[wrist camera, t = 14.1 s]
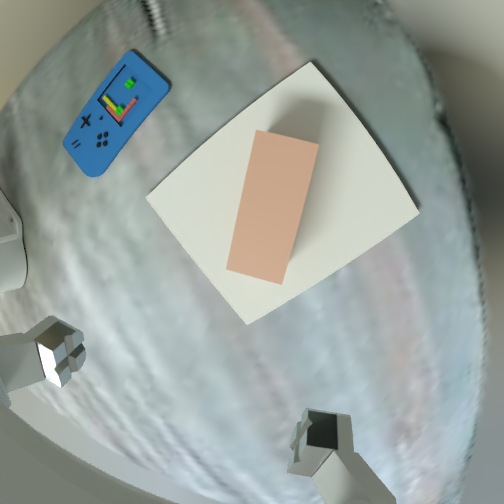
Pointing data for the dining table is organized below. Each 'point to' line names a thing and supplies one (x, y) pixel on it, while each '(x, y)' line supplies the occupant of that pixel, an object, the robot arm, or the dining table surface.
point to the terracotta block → (271, 205)
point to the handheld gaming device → (114, 113)
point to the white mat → (316, 203)
